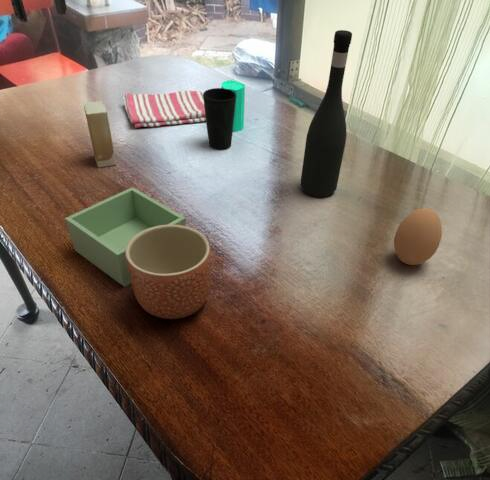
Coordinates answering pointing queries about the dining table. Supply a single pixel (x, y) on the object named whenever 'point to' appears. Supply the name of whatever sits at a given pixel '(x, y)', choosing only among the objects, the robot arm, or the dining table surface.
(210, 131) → the cup
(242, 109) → the candle
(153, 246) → the planter
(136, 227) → the green open box
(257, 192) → the dining table surface
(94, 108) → the cosmetic box
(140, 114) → the dish towel
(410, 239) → the egg
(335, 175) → the wine bottle
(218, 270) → the dining table surface
